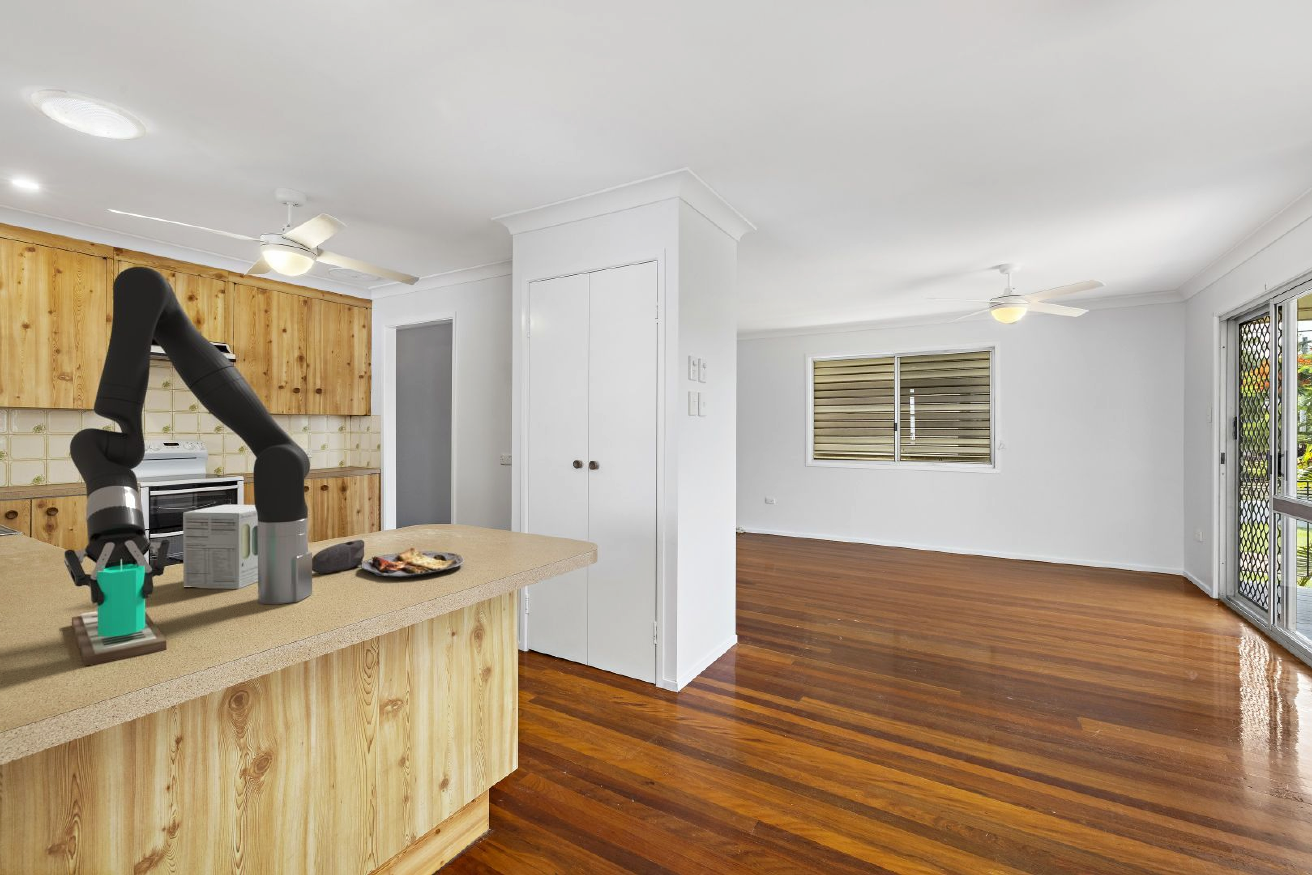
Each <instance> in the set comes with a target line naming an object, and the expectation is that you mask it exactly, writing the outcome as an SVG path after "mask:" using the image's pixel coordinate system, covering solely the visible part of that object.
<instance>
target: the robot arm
mask: <svg viewBox="0 0 1312 875" xmlns="http://www.w3.org/2000/svg"><path fill="white" fill-rule="evenodd" d="M112 290H113V292H112V293H113V295H112V296H113V298H112V299H113V300H112V301H113V302H112V303H113V304H112V309H113V310H112V321H111V323H112V324H111V330H110V332H111V333H110V338H109V344H108V348H107V352H106V357H105V360H104V364H103V369H102V373H101V376H100V380H99V384H98V386H97V387H98V388H97V392H96V395H95V401H94V405H93V411H94V413H95V414H96V415H98V416H99V417H102V418H104V419H108V420H110V421H113V422H115V423H116V424H117V425H118V426H119V428H120V431H121V432H120V431H119V432H118V431H113V430H107V429H100V428H95V427H94V428H92V427H91V428H90V427H89V428H84V429H81V430H80V431H78V432H77V433H75V434H74V435H73V437H72V439H71V441H70V444H69V453H70V458H71V460H72V462H73V464H74V466H75V468H76V469H77V471H78V472H79V474H80V476H81V478H82V479H83V482H84V483H85V486H86V488H85V489H86V502H87V503H86V506H85V507H86V508H85V513H86V516H85V521H86V526H87V540H88V541H87V542H88V544H87V545H86V547H85V549H79V550H76V551H75V550H74V549H67V550H65V551H64V559H63V562H64V564H65V566H66V568H67V571H68V572H69V575H70V577H71V580H72V581H73V583H74V586H76V587H82V586H87V587H89V589H90V599H91V600H90V601H91V603H92V604H96V605H97V606H100V605H102V604H103V603H104V594H103V592H102V591H101V588H100V586H99V584H98V582H97V572H98V571H101V572H103V571H104V570H105V568H109V567H114V566H120V565H121V559H122V565H127V564H133V565H137V566H145V575H144V583H143V599H145V600H146V599H149V596H150V595H153V592H154V587H155V586H154V582H153V581H154V580H153V578H154V577H156V576H158V577H161V576H163V575H164V572H165V567H166V563H167V558H168V553H169V547H170V540H168V539H163V540H161V541H160V542H158V541H157V542H154V541H151V540H150V539H149V538H148V537H147V534H146V526H145V525H146V524H145V518H144V512H143V511H144V510H143V504H142V501H141V498H140V495H139V485H138V479H137V475H136V473H135V472H134V471H133V469H135V468H137V467H138V466H139V465H140V464H141V463H142V461H143V460H144V457H145V454H146V444H145V443H146V442H145V438H144V429H143V408H144V404H145V400H146V397H147V396H146V395H147V391H148V387H149V380H150V379H149V378H150V369H151V368H150V367H151V353H152V352H151V351H152V345H153V344H152V343H153V340H154V341H155V342H156V343H157V344H158V345H159V346H160V348H161V349H162V350H163V351H164V353H165V354H166V356H167V358H168V360H169V361H170V363H171V364H172V367H173V368H174V370H175V371H176V373H177V374H178V375H179V377H180V379H182V381H183V383H184V384H185V385H186V387H187V388H188V389H189V391H190V392H191V393H192V394H193V395H194V396H195V398H196V399H197V400H198V402H200V404H201V405H202V406H203V407H204V408H205V409H206V410H207V411H208V412H209V413H210V414H212V416H214V418H216V419H217V420H218V421H220V422H221V423H222V424H224V426H225V427H227V428H228V429H230V430H231V431H232V432H234V433H235V434H236V435H237V436H238V437H239V438H241V440H242V441H243V442H244V443H245V444H246V445H247V446H248V448H249V449H250V451H251V452H252V454H253V455H254V457H255V460H254V464H253V496H254V497H253V498H254V499H253V500H254V505H255V508H256V511H257V516H258V582H257V598H258V599H257V602H258V603H259V604H263V605H281V604H288V603H298V602H300V601H302V600H304V599H306V598H308V597H310V596H311V595H312V594H313V571H312V558H313V551H309V548H308V546H309V543H308V541H309V537H308V536H309V534H308V533H309V532H308V530H309V528H308V526H309V525H308V524H309V523H308V520H309V517H308V516H309V514H308V510H309V509H308V505H307V503H306V496H305V478H306V477H307V476H308V475H309V472H310V469H311V463H310V462H311V461H310V459H309V456H308V454H307V453H306V451H305V450H304V449H303V448H302V447H301V446H300V445H299V444H298V443H297V442H296V441H295V440H293V438H292V437H290V436H289V434H287V432H286V431H285V430H284V429H283V428H282V427H281V426H280V425H279V424H278V423H277V421H276V420H275V419H274V418H273V417H272V414H270V412H269V411H268V409H267V408H266V406H265V404H264V403H263V402H262V400H261V399H260V397H259V396H258V395H257V393H256V392H255V391H254V390H253V388H252V387H251V385H250V384H249V383H248V382H247V380H246V379H245V377H244V376H243V375H242V374H241V372H240V371H239V370H238V368H237V367H235V365H234V364H233V363H232V362H231V360H230V359H229V358H228V357H227V356H226V355H225V354H224V353H222V351H220V350H219V349H218V347H217V346H215V345H214V344H213V343H211V341H209V340H208V339H207V338H206V337H205V336H204V335H203V334H201V332H200V331H198V328H197V327H196V326H195V325H194V323H193V322H192V321H191V319H190V318H189V316H188V315H187V313H186V312H185V310H184V308H183V307H182V306H181V303H180V302H179V299H178V297H177V296H176V294H175V292H174V289H173V287H172V285H171V284H170V282H169V280H168V279H167V278H166V277H165V276H164V275H163V274H161V273H160V272H159V271H157V270H155V269H153V268H150V267H148V266H146V267H145V266H132V267H129V268H125V269H124V270H123V271H121V272H120V273H119V274H117V275H116V277H115V278H114V281H113V286H112ZM149 550H151V551H153V552H152V553H153V555H155V556H157V559H156V563H155V564H154V565H152V566H151V565H150V564H149V563H148V561H147V558H146V557H145V555H146V554H147V553H148V551H149ZM86 557H87V558H88V559H89V560H91V561H92V562H94V563H95V566H94V569H93V571H92V573H89V574H88V573H86V572H85V571H84V568H83V566H82V563H83V562H84V558H86Z"/></svg>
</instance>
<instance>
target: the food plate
mask: <svg viewBox="0 0 1312 875" xmlns="http://www.w3.org/2000/svg"><path fill="white" fill-rule="evenodd" d="M464 562H465V558H463V556H461V555H459V554H458V553H452V552H444V551H430V550H429V551H428V550H427V551H418V550H417V549H415V547H411V548H410V549H406V550H405V551H403V552H397V553H396V552H395V553H391V554H383V555H379V556H376V555H375V556H372V557H371V558H369V559H367V560H363V561H362V564H361V565H360V566H359V568H360V569H363V570H366V571H368V572H370V573H374V574H375V576H378V577H379V576H380V577H381V576H382V577H390V578H391V577H394V578H395V577H396V578H397V577H399V578H405V577H406V578H408V577H409V578H412V577H423V576H427V575H433V574H436V573H441V572H443V571H447V570H451V569H453V568H457V567H459V566H461V565H462V564H463V563H464Z"/></svg>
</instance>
